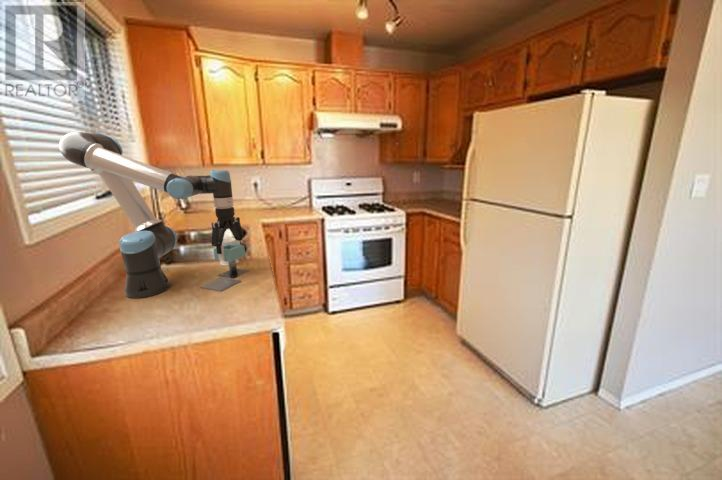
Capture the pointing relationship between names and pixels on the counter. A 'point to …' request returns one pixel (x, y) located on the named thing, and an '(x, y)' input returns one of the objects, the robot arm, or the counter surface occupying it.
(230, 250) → the teal square frame
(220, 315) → the counter surface
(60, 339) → the counter surface
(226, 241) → the mug
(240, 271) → the stand
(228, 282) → the coaster
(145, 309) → the counter surface
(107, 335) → the counter surface
